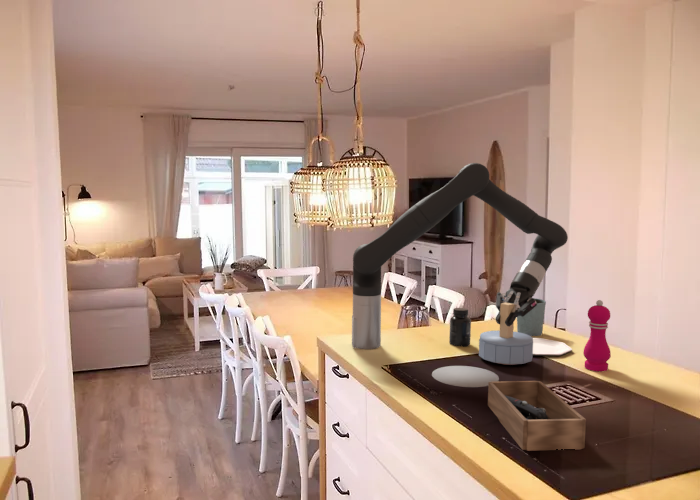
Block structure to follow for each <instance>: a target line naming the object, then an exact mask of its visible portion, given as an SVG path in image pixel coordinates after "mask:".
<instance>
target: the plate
mask: <svg viewBox="0 0 700 500" xmlns="http://www.w3.org/2000/svg"><path fill="white" fill-rule="evenodd" d="M532 338H533V356H539V357H540V356H542V357H543V356H546V357H547V356H549V357H550V356H553V357H554V356H556V357H559V356H563V355H565V354H568V353H571V352H573V348H571V346H569V345H567V344H566V343H565V342H562V341H558V340H553V339H547V338H543V337H532Z"/></svg>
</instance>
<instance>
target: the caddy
mask: <svg viewBox="0 0 700 500" xmlns="http://www.w3.org/2000/svg"><path fill="white" fill-rule="evenodd" d="M487 387H488V389H487V392H488V393H487V407H489V409H490V410H491V411H492V412H493V414H494V415H495V416H496V418H497V420H498V421H499V423H500V424H501V425H502V426H503V428H505V430H506V431H507V433H508V434H509V436H510V437H512V439H513V440H514V441H515V442H516V444H517V445H518V446H519V447H520V449H521V450H523V451H529V452H530V451H531V452H532V451H565V450H564V449H575V450H582V449H585V446H586V445H585V444H586V442H585V441H586V426H587V425H586V423H587V419H586V418H585V417H584V416H583V415H581V414H580V412H578V411H577V410H575V408H573V407H572V406H571V405H570V404H568V403H567V402H566V401H565V400H564V399H562V398H561V397H560V396H558V394H557V393H556V392H554V391H553V390H552V389H551V388H550V387H548V386H547V385H546V384H545V383H543V382H542V381H540V380H505V381H504V380H503V381H491V382H489V383H488V386H487ZM504 395H506V396H510V397H513V398H516V399H519V400H521V401H526V402H527V403H528V404H530V405H532V406H534V407H536V408H540V409H541V408H544V409H545V410H546V415H547V417H548V419H536V420H527V419H526V418H525V417H524V416H523V415H522V414H521V413H520V412H519V411H518V410H517V409H516V407H515V406H514V405H513V404H512V403H511V402H510V401H509V400H508V399H507V398H506V397H505V396H504ZM556 449H558V450H556ZM561 449H563V450H561Z"/></svg>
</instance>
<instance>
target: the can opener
mask: <svg viewBox="0 0 700 500" xmlns="http://www.w3.org/2000/svg"><path fill="white" fill-rule="evenodd" d="M504 396H505V397H506V398H507V399H508V400H509V401H510V402H511V403H512V404H513V405H514V406H515V407H516V409H517V410H518V411H519V412H520V413H521V414H522V415H523V416H524V417H525V418H526V419H527V420H536V419H549V417H548V416H547V415H546V410H545V409H544V408H541V409H540V408H538V407H537V406H533V405H530V404H528V403H527V402H526V401H521V400H519V399H516V398H513V397H510V396H506V395H504Z"/></svg>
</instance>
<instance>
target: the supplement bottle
mask: <svg viewBox="0 0 700 500" xmlns="http://www.w3.org/2000/svg"><path fill="white" fill-rule="evenodd" d="M452 311H453V313H452V315H453V316H451V317H450V319H449V338H448V339H449V345H451V346H454V347H463V348H466V347H469V346H471V332H472V331H471V328H472V326H471V325H472V319H471V318H470V317H469V309H468V308H465V307H454V308H453V310H452Z"/></svg>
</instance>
